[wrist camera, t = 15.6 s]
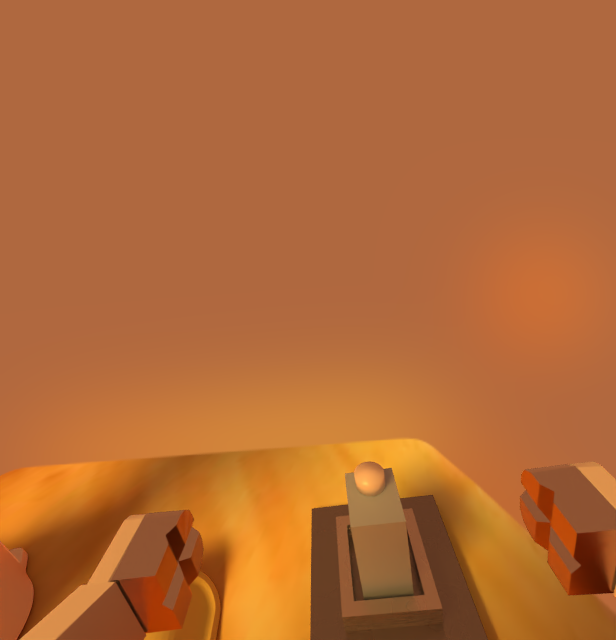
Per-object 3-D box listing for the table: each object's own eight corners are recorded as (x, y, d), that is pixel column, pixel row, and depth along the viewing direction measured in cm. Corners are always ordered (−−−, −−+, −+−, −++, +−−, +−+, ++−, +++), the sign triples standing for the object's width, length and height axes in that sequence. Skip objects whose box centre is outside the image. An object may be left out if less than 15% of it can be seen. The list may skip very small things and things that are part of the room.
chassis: (312, 690, 25) (305, 667, 24) (313, 516, 38) (309, 496, 37) (498, 677, 24) (499, 652, 23) (433, 503, 37) (431, 482, 36)
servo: (365, 604, 28) (348, 515, 24) (358, 545, 33) (343, 463, 29) (414, 600, 28) (404, 509, 24) (400, 540, 32) (390, 457, 29)
